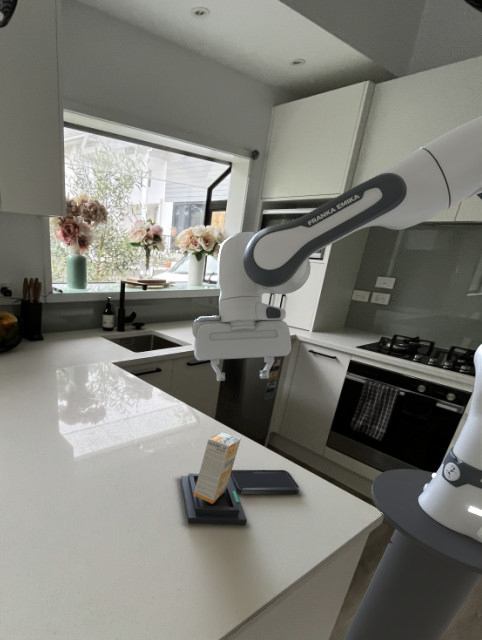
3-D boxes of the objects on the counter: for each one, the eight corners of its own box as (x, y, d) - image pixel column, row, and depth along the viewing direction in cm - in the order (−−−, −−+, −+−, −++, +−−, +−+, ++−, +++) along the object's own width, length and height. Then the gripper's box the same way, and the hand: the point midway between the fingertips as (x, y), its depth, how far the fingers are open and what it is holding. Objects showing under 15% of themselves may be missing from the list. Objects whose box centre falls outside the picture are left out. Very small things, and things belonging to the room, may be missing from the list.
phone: (301, 490, 87) (238, 490, 86) (300, 493, 88) (237, 494, 86) (286, 469, 94) (228, 469, 93) (285, 473, 95) (228, 473, 93)
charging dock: (230, 482, 90) (232, 472, 89) (245, 525, 78) (248, 514, 76) (180, 480, 89) (181, 470, 88) (187, 523, 77) (189, 512, 76)
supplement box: (213, 505, 77) (229, 446, 74) (192, 495, 79) (207, 438, 76) (226, 492, 84) (242, 438, 81) (206, 483, 86) (221, 430, 83)
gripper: (194, 314, 77) (196, 382, 78) (293, 309, 77) (295, 377, 78) (189, 319, 83) (192, 382, 84) (281, 314, 83) (283, 377, 84)
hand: (242, 379), depth 81 cm, fingers open, 8 cm apart
